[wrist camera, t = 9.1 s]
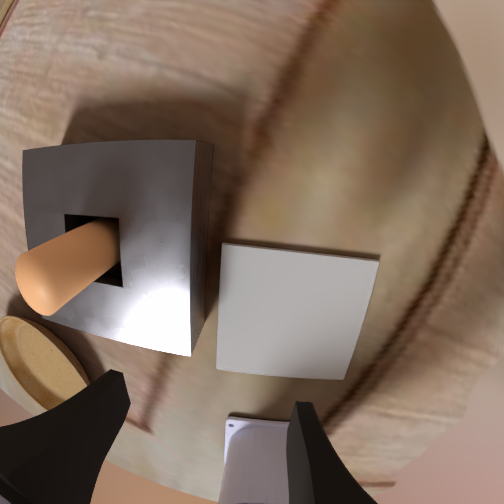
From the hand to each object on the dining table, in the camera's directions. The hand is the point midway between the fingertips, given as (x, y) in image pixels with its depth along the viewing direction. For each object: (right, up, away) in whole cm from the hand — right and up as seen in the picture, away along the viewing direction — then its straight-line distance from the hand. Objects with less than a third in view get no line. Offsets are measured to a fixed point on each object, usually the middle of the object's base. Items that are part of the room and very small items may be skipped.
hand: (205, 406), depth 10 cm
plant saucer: (-20, -6, +14) cm, 25 cm away
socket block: (-7, +8, +8) cm, 13 cm away
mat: (+5, +2, +9) cm, 10 cm away
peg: (-7, +8, +8) cm, 13 cm away
